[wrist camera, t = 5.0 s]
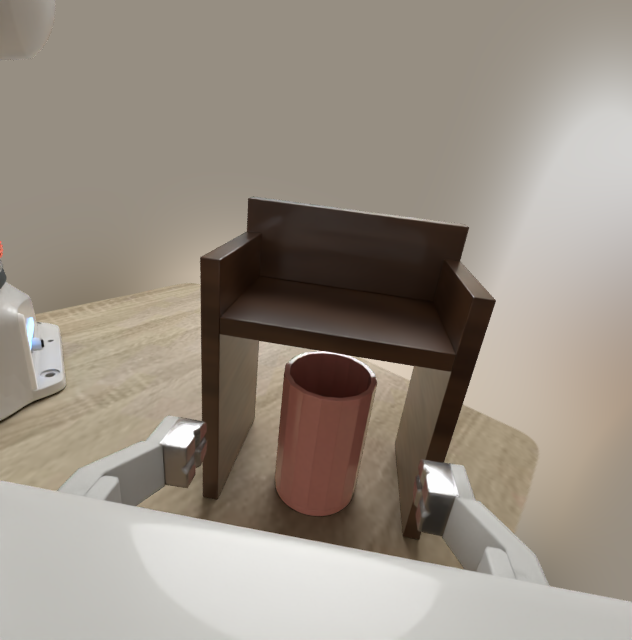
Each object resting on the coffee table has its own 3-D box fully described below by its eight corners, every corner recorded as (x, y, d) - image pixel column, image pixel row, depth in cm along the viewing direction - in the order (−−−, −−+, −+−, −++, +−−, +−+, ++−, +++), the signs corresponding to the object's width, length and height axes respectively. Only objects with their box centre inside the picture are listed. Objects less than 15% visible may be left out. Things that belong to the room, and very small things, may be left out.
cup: (265, 461, 33) (273, 355, 29) (334, 446, 35) (350, 347, 31) (289, 526, 27) (304, 407, 23) (368, 504, 30) (394, 393, 26)
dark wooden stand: (419, 540, 27) (511, 254, 19) (202, 496, 29) (199, 211, 20) (407, 445, 37) (465, 224, 28) (243, 416, 38) (252, 196, 29)
